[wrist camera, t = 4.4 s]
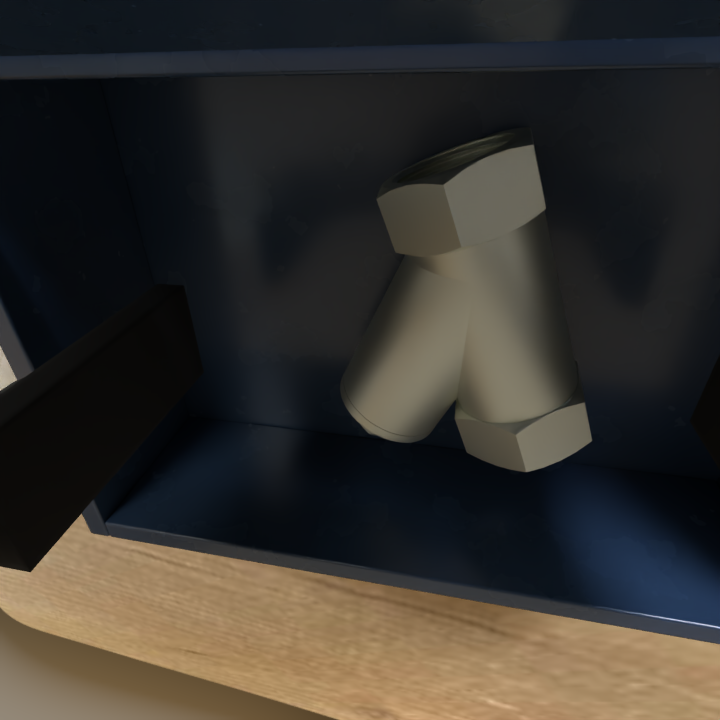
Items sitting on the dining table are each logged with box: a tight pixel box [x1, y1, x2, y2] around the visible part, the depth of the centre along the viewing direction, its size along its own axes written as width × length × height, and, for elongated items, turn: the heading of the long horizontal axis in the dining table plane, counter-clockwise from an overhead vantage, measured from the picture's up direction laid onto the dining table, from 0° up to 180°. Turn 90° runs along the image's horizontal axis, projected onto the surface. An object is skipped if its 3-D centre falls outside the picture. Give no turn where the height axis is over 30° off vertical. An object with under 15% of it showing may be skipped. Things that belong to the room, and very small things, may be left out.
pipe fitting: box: [340, 127, 592, 472], centre depth 13 cm, size 8×4×7 cm
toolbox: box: [0, 36, 720, 644], centre depth 13 cm, size 13×21×6 cm, turn 91°
